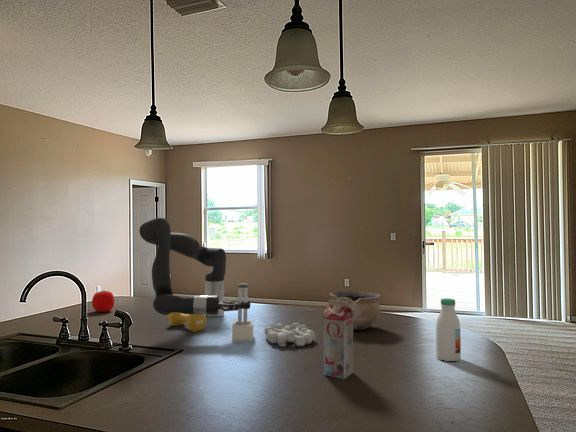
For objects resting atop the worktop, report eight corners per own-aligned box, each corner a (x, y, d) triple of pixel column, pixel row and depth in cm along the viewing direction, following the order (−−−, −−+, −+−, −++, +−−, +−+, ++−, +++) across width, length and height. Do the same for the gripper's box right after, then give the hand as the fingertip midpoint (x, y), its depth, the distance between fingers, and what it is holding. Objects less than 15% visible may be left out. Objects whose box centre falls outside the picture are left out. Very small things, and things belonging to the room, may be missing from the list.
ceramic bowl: (322, 331, 181) (322, 295, 181) (336, 320, 201) (336, 288, 202) (375, 336, 173) (375, 299, 173) (384, 324, 193) (384, 291, 193)
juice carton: (344, 379, 125) (343, 303, 125) (323, 375, 129) (323, 301, 129) (353, 372, 131) (353, 300, 131) (333, 368, 134) (333, 298, 135)
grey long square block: (238, 329, 171) (238, 283, 172) (247, 329, 171) (247, 283, 172) (237, 331, 168) (238, 284, 168) (246, 331, 168) (247, 284, 168)
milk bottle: (449, 363, 139) (448, 302, 140) (431, 357, 146) (430, 298, 146) (465, 360, 143) (465, 300, 143) (447, 354, 150) (447, 296, 150)
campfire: (250, 340, 167) (250, 325, 167) (287, 331, 183) (287, 317, 183) (291, 353, 152) (291, 336, 152) (327, 341, 167) (328, 326, 168)
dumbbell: (208, 329, 184) (208, 310, 184) (190, 333, 177) (190, 314, 177) (183, 322, 197) (183, 305, 197) (165, 326, 190) (166, 307, 190)
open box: (233, 335, 173) (233, 321, 173) (253, 335, 174) (253, 320, 174) (232, 341, 165) (232, 325, 165) (252, 341, 166) (253, 325, 166)
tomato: (109, 313, 216) (109, 292, 216) (88, 313, 216) (88, 292, 216) (117, 309, 227) (118, 289, 227) (98, 309, 227) (98, 289, 227)
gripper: (204, 298, 162) (249, 298, 163) (208, 292, 176) (250, 292, 177) (203, 318, 162) (249, 318, 163) (208, 310, 176) (250, 310, 177)
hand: (250, 304), depth 170 cm, fingers closed on grey long square block, 3 cm apart
